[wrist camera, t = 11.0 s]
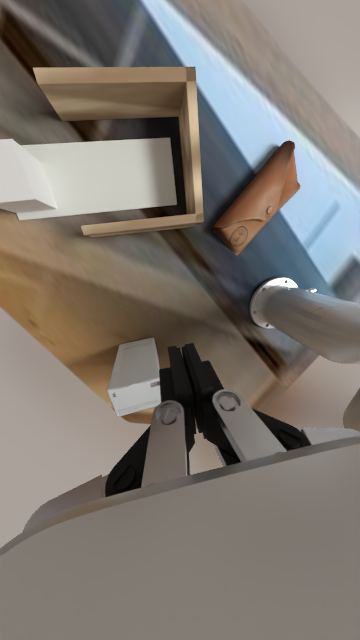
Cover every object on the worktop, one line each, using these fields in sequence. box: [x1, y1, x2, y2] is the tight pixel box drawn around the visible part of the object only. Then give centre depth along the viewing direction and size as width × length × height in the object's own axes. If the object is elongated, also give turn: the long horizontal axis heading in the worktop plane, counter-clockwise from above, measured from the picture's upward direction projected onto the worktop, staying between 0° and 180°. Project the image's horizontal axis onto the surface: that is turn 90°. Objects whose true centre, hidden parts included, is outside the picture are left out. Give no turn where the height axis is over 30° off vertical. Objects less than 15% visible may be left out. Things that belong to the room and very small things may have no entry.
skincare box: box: [107, 338, 161, 417], centre depth 34 cm, size 8×6×15 cm
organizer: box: [33, 67, 204, 238], centre depth 26 cm, size 16×18×6 cm
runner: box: [16, 138, 177, 220], centre depth 27 cm, size 26×9×1 cm, turn 96°
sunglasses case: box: [212, 141, 300, 255], centre depth 32 cm, size 18×7×7 cm
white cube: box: [0, 139, 57, 213], centre depth 24 cm, size 6×6×6 cm
